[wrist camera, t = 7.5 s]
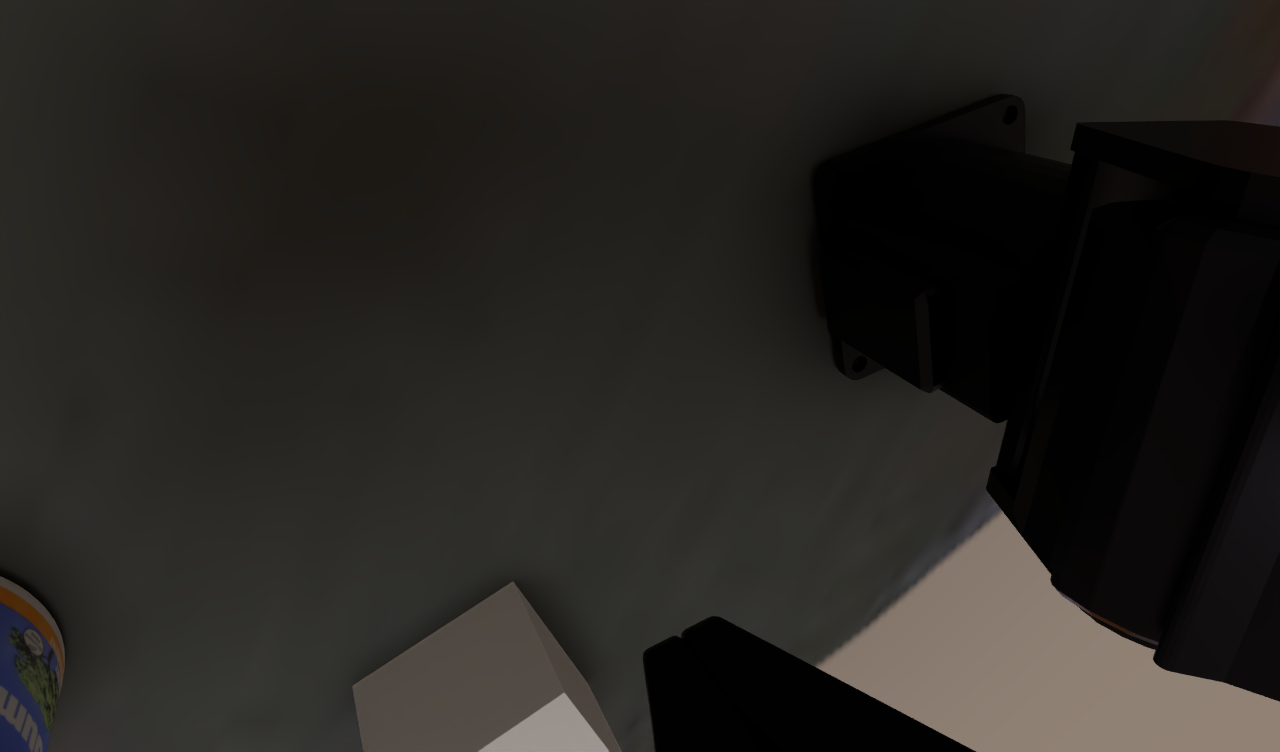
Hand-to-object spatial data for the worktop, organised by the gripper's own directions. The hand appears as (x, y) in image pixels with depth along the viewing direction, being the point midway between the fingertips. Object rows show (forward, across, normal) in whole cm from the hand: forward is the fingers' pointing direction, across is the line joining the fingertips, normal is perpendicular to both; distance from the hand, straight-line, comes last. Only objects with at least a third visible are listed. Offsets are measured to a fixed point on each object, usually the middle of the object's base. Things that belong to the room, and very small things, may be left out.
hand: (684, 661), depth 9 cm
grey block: (+13, +3, +12) cm, 18 cm away
